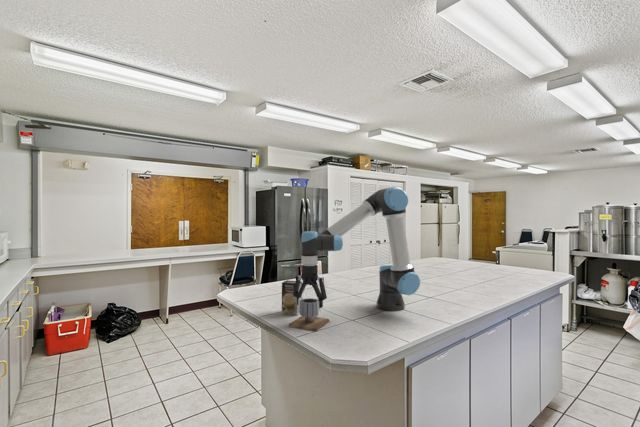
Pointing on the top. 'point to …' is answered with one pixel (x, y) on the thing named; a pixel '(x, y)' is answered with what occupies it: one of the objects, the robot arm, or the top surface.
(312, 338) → the top surface
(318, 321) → the base
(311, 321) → the post
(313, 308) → the grey ribbed cylinder
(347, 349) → the top surface
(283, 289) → the coffee box
